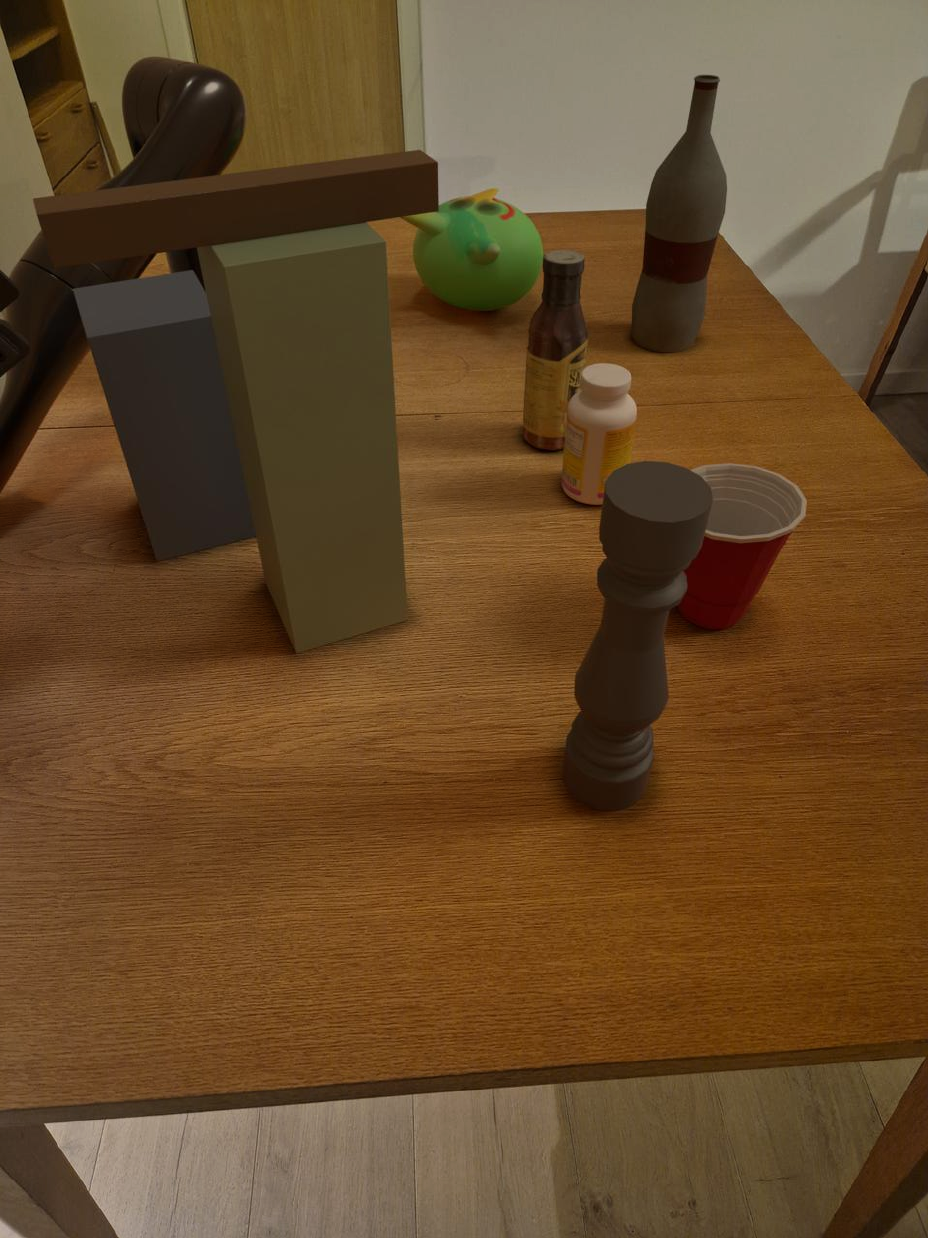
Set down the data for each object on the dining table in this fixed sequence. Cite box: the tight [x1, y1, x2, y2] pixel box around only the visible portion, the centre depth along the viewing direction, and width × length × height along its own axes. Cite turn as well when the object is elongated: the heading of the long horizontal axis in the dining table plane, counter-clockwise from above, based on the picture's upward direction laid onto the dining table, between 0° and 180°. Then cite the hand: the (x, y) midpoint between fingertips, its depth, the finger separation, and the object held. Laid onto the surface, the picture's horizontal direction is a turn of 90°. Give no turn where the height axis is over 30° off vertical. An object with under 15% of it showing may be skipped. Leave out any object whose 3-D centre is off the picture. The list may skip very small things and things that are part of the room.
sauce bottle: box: [522, 248, 589, 451], centre depth 90 cm, size 6×6×20 cm
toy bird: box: [399, 187, 544, 312], centre depth 117 cm, size 18×17×15 cm
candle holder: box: [561, 460, 713, 812], centre depth 54 cm, size 6×6×25 cm
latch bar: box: [32, 149, 440, 269], centre depth 53 cm, size 24×3×3 cm, turn 114°
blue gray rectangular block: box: [73, 270, 256, 562], centre depth 78 cm, size 10×10×22 cm
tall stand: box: [197, 222, 409, 654], centre depth 66 cm, size 10×10×32 cm
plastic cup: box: [677, 462, 808, 630], centre depth 72 cm, size 11×11×12 cm
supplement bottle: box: [561, 362, 638, 506], centre depth 85 cm, size 7×7×13 cm
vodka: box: [631, 74, 728, 354], centre depth 104 cm, size 9×9×30 cm
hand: (12, 303), depth 51 cm, fingers open, 8 cm apart
